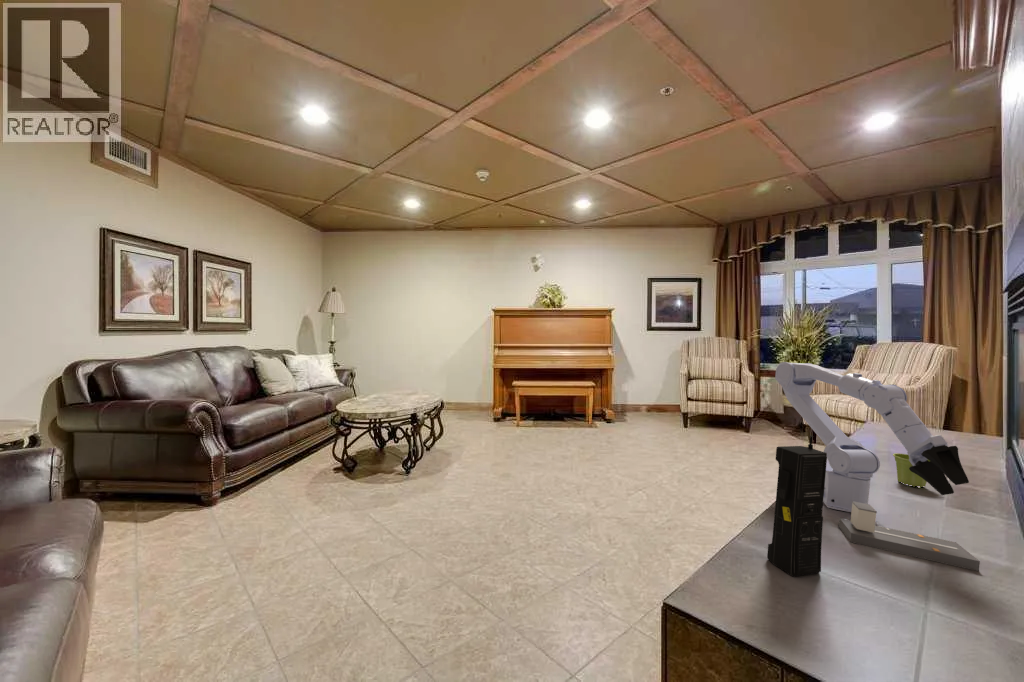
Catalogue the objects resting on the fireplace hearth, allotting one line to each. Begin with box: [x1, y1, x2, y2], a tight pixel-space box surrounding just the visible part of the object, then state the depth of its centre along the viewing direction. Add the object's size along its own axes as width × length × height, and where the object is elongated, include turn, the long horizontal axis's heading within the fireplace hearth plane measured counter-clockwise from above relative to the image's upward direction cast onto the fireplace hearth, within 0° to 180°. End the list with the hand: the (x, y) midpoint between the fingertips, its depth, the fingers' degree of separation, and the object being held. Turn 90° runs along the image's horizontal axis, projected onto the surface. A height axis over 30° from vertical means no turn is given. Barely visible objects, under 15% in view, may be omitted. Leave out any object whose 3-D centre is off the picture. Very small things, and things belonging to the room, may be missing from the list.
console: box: [838, 517, 981, 572], centre depth 86 cm, size 20×8×2 cm, turn 65°
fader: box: [850, 501, 878, 533], centre depth 89 cm, size 3×4×5 cm
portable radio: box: [766, 435, 828, 577], centre depth 75 cm, size 8×6×25 cm
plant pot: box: [892, 453, 930, 487], centre depth 125 cm, size 9×9×9 cm
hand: (955, 489), depth 84 cm, fingers open, 7 cm apart
